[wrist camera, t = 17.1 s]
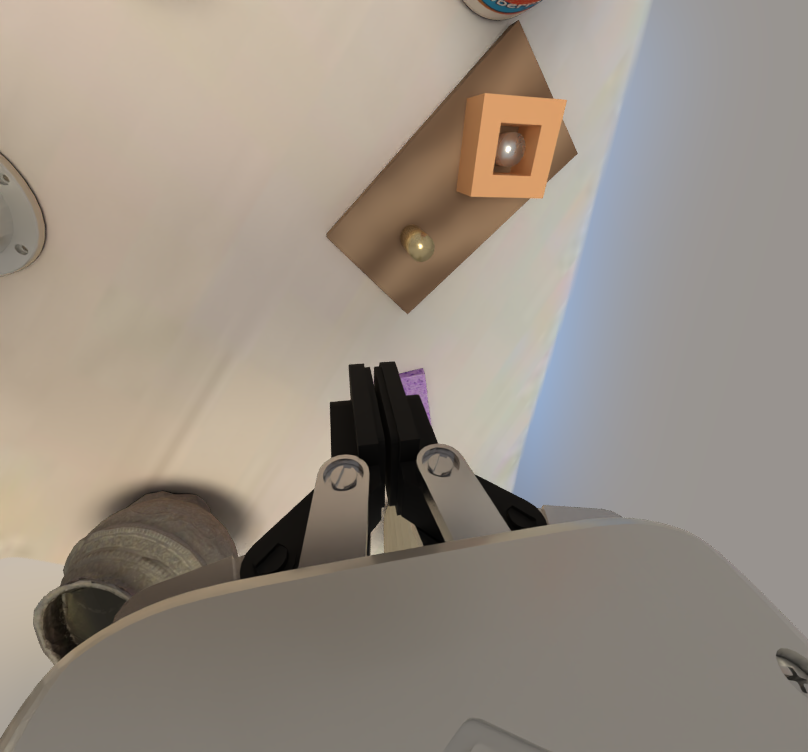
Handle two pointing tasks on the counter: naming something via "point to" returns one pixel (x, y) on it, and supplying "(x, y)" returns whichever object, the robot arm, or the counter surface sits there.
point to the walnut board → (441, 184)
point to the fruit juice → (500, 7)
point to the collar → (481, 139)
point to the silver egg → (509, 149)
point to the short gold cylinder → (417, 243)
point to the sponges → (416, 386)
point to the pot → (127, 565)
